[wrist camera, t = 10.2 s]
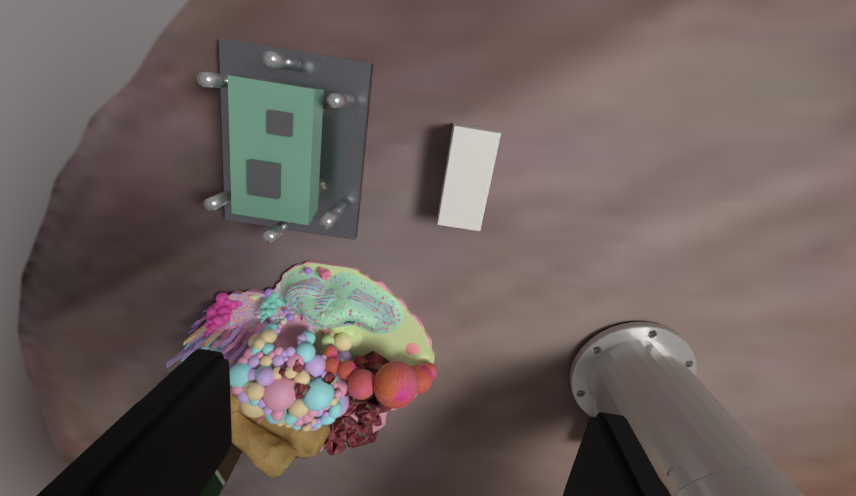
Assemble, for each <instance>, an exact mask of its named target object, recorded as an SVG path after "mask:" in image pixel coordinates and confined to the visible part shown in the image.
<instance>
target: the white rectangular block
mask: <svg viewBox="0 0 856 496" xmlns="http://www.w3.org/2000/svg"><path fill="white" fill-rule="evenodd" d="M500 135H501V133H499V132H498V131H496V130H493V129H487V128H481V127H475V126H469V125H463V124H457V123H453V127H452V133H451V139H450V145H449V151H448V157H447V163H446V168H445V174H444V180H443V186H442V192H441V198H440V204H439V210H438V225H443V226H450V227H456V228H463V229H469V230H476V231H480V230H481V225H482V220H483V215H484V211H485V206H486V201H487V197H488V192H489V187H490V182H491V178H492V173H493V168H494V164H495V159H496V154H497V150H498V145H499V140H500Z"/></svg>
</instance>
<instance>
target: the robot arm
mask: <svg viewBox="0 0 856 496" xmlns="http://www.w3.org/2000/svg"><path fill="white" fill-rule="evenodd" d="M696 371H697V365H696V358H695V356H694V353H693V351H692V349H691V348H690V346H689V345H688V343H687V342H686V341H685V340H684V339H683V338H682V337H681V336H680V335H679V334H677V333H676V332H674V331H673V330H671V329H670V328H667V327H665V326H662V325H660V324H655V323H650V322H630V323H623V324H620V325H616V326H613V327H610V328H608V329H606V330H604V331H602V332H600V333H598V334H597V335H596V336H594V337H593V338H591V339H590V340H589V341H588V342H587V343H586V344H585V345H584V346H583V347H582V348H581V349H580V350H579V352H578V353H577V355H576V356H575V358H574V360H573V363H572V365H571V369H570V373H569V383H570V387H571V391H572V394H573V396H574V398H575V400H576V402H577V403H578V405H579V406H580V408H581V409H582V410H583V411H584V412H586V413H587V414H588V415H589V416H591V418H590V419H589V421H588V424H587V427H586V430H585V433H584V436H583V438H582V441H581V444H580V447H579V450H578V453H577V456H576V458H575V461H574V464H573V467H572V470H571V473H570V476H569V478H568V481H567V484H566V487H565V490H564V493H563V496H805V495H804V494H803V493H802V492H801V491H800V490H799V489H798V488H797V487H796V486H795V485H794V484H793V482H792V481H791V480H790V479H789V478H788V477H787V476H786V475H785V474H784V473H783V471H782V470H781V469H780V468H779V467H778V466H777V465H776V464H775V463H774V462H773V460H772V459H771V458H770V457H769V456H768V455H767V454H766V453H765V452H764V451H763V450H762V448H761V447H760V446H759V445H758V444H757V443H756V442H755V441H754V440H753V439H752V437H751V436H750V435H749V434H748V433H747V432H746V431H745V430H744V429H743V428H742V426H741V425H740V424H739V423H738V422H737V421H736V420H735V419H734V418H733V417H732V416H731V414H730V413H729V412H728V411H727V410H726V409H725V408H724V407H723V406H722V405H721V403H720V402H719V401H718V400H717V399H716V398H715V397H714V396H713V395H712V394H711V393H710V391H709V390H708V389H707V388H706V387H705V386H704V385H703V384H702V383H701V382H700V380H699V379H698V378H697V377H696ZM231 442H232V427H231V398H230V370H229V361H228V359H224V356H223V354H222V353H221V352H217V351H211V350H205V349H196V350H195V351H194V352H192V353H191V354H190V355H189V356H188V357H187V358H186V359H185V360H184V361H183V362H182V363H181V364H180V365H178V366H177V367H176V368H175V369H174V370H173V371H172V372H171V373H170V374H169V375H168V376H167V377H166V378H164V379H163V380H162V381H161V382H160V383H159V384H158V385H157V386H156V387H155V388H154V389H153V390H152V391H150V392H149V393H148V394H147V395H146V396H145V397H144V398H143V399H142V400H140V401H139V402H138V403H136V404H135V405H134V406H133V407H132V408H131V409H130V410H129V411H128V412H126V413H125V414H124V415H123V416H122V417H121V418H120V419H119V420H118V421H117V422H116V423H115V424H114V425H112V426H111V427H110V428H109V429H108V430H107V431H106V432H105V433H104V434H103V435H102V436H101V437H99V438H98V439H97V440H96V441H95V442H94V443H93V444H92V445H91V446H90V447H89V448H88V449H86V450H85V451H84V452H83V453H82V454H81V455H80V456H79V457H78V458H77V459H76V460H75V461H74V462H72V463H71V464H70V465H69V466H68V467H67V468H66V469H65V470H64V471H63V472H62V473H61V474H59V475H58V476H57V477H56V478H55V479H54V480H53V481H52V482H51V483H50V484H49V485H48V486H46V487H45V488H44V489H43V490H42V491H41V492H40V493H39V494H38V495H37V496H200V495H201V493H202V492H203V490H204V489H205V487H206V486H207V484H208V483H209V481H210V480H211V478H212V476H213V475H214V473H215V472H216V470H217V469H218V467H219V466H220V464H221V463H222V461H223V460H224V458H225V457H226V455H227V453H228V451H229V449H230V446H231Z"/></svg>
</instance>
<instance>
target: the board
mask: <svg viewBox="0 0 856 496" xmlns="http://www.w3.org/2000/svg"><path fill="white" fill-rule="evenodd" d="M323 97H324V90H322V89H316V88H310V87H303V86H297V85H291V84H285V83H279V82H273V81H266V80H260V79H254V78H248V77H240V76H230V75H228V105H229V139H230V173H231V207H232V214H238V215H245V216H251V217H258V218H264V219H271V220H277V221H284V222H291V223H297V224H304V225H309V224H310V223H311V222H312V221H313V220H314V219H315V218H316V217H317V212H318V193H319V174H320V155H321V136H322V117H323Z"/></svg>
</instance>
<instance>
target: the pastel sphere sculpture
mask: <svg viewBox="0 0 856 496" xmlns="http://www.w3.org/2000/svg"><path fill="white" fill-rule="evenodd" d="M215 299H216V303H214V304H212V305H211V306H210V307H209V308H207V309H206V310H204V311H203V312H202V313H204V312H206V311H207V312H206V313H207V314H206V315H204V316H203V317H202V318H201V319H200V320H197V321H196V322H195V323H194V324H193V325H192V326H191V327H192V328H194V329H192V330H191V331H189V332H188V333H187V334H189V333H191V332H192V331H193V330H195V329H196V328H197V327H198V326H199V325H200V323H202V322H203V321H204V320H205V319H206V320H207V321H206V323H204V325H203V326H202V327H200V328H199V329H197V330H195V331H194V332H193V333H192V334H191V335H190V336H189V337H188V338H187V339H186V340H185V341H184V343H183V345H186V344H187V343H188V344H187V345H186V347H185V348H184V349H183V350H182V351H180V352H179V353H178V354H177V355H176V356H174V357H173V358H172V359H170V360H169V361H168V362H167V365H166V369H167V368H168V367H169V366H171V365H172V364H173V363H175V362H176V361H177V360H179V359H180V358H181V357H182V358H181V360H180V361H182V362H183V361H184V360H185V359H186V358H187V357H188V356H189V355H190V354H191V353H192V352H194V351H195V350H196V349H205V350H211V351H217V352H221V353H222V354H223V356H224V359H228V361H229V370H230V398H231V427H232V443H233V444H234V445H235V446H237V447H238V448H239V449H240V450H241V451H243V452H244V453H245V454H246V455H247V456H248V457H249V458H250V460H251V461H252V462H253V464H254V465H256V466H257V467H258V468H259V469H260V470H262V471H263V472H264V473H265V474H267V475H268V476H269V477H280V475H281V474H282V473H283V472H284V471H285V470H286V468H287V467H288V466H289V465H290V464H291V462H292V461H293V459H294V458H297V457H300V458H303V459H305V458H306V457H307V456H317V454H318V453H319V452H320V451H322V450H323V448H324V446H325V448H326V450H327V452H328V453H329V455H334V454H340V453H341V452H342V451H343V450H344V449H345V448H346V446H345V444H344V443H343V442H342V441H345V442H347V443H348V447H352V448H355V447H358V446H361V445H365V444H368V443H372V442H375V440H376V436H377V433H378V430H379V429H381V428H382V427H384V426H385V423H386V415H387V412H388V411H391V410H396V409H397V408H402V407H406V406H407V405H409V404H410V403H411V402H412V401H413V400H414V398H415V397H416V396H417V395H418V394H423V393H425V392H426V391H428V390H429V389H430V387H431V385H432V382H433V380H435V379H436V377H437V374H438V370H437V367H436V366H435V365H434V359H435V353H434V351H433V349H432V339H431V338H430V337H429V336H428V334H427V333H426V331H425V329H424V324H423V323H422V322H421V321H420V319H419V318H418V317H417V316H416V315H415V314H414V313H412V312H410V311H409V310H408V309H407V305H406V303H404V301H403V300H402V299H401V298H400V297H397V296H396V295H394V294H393V293H392V292H391V291H390V290H389V288H388V287H387V286H386V285H385V284H384V282H383V281H380V280H374V279H372V278H371V277H369V275H367V274H365V273H363V272H361V271H360V270H359V269H358V268H356V267H351V266H345V265H339V264H332V263H325V262H318V261H311V260H309V261H306V262H305V263H302V264H296V265H295V266H294V267H292V268H290V269H289V270H288V271H287V272H285V273H284V275H283V276H282V280H281V281H280V282H279V283H278V284H276V288H274V289H272V288H268V289H266V290H265V291H264V290H257V289H249V290H248V291H246V292H242V291H234V292H233V293H232V294H230V295H229V294H227V293H225V292H221V293H219V294H218V295H217V296H216V298H215ZM180 361H179V362H180ZM182 362H181V363H182ZM181 363H180V364H181ZM180 364H179V365H180Z"/></svg>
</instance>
